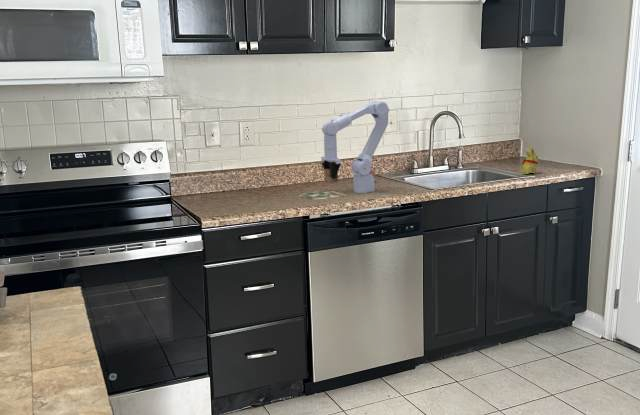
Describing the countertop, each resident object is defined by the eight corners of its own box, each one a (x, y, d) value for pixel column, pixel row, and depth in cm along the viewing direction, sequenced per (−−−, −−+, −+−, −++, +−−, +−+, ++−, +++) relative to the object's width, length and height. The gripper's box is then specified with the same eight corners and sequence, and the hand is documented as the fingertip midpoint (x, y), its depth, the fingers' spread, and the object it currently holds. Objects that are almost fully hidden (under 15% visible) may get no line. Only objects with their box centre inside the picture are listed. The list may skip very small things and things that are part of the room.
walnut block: (332, 180, 297) (332, 167, 296) (337, 181, 293) (337, 168, 292) (324, 181, 295) (324, 168, 294) (329, 182, 291) (328, 169, 290)
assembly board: (332, 193, 304) (332, 188, 303) (348, 197, 292) (347, 192, 291) (299, 197, 295) (298, 192, 295) (313, 202, 283) (313, 197, 283)
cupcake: (356, 181, 333) (356, 159, 331) (371, 180, 336) (371, 157, 334) (363, 184, 326) (362, 160, 323) (378, 182, 328) (378, 159, 326)
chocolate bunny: (540, 173, 342) (541, 145, 339) (527, 175, 336) (528, 147, 333) (530, 172, 347) (531, 144, 344) (516, 174, 342) (517, 146, 339)
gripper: (315, 147, 295) (316, 176, 298) (331, 150, 283) (331, 180, 286) (328, 146, 299) (329, 175, 302) (344, 149, 286) (345, 179, 289)
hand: (331, 177), depth 294 cm, fingers closed on walnut block, 4 cm apart
